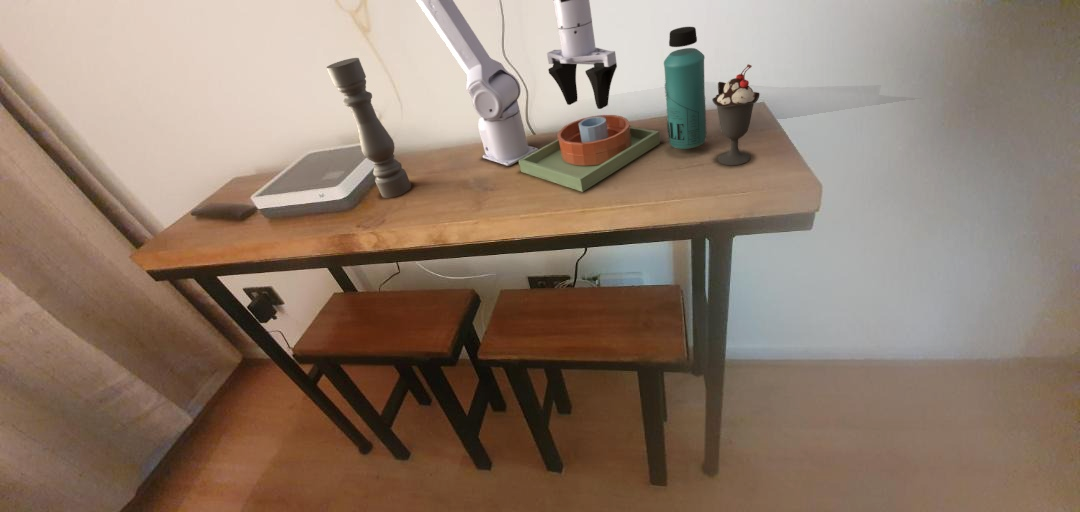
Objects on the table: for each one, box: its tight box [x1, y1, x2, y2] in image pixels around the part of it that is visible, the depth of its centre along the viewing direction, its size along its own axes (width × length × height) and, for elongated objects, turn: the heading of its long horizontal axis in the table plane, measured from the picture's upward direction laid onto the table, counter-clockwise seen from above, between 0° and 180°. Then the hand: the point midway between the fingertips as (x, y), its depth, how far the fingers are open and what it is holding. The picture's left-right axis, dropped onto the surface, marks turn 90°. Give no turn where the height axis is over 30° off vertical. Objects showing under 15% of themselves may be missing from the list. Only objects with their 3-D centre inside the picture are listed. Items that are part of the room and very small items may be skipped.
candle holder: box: [326, 57, 412, 199], centre depth 90 cm, size 6×6×25 cm
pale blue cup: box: [579, 116, 609, 143], centre depth 89 cm, size 5×5×6 cm
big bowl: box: [557, 114, 632, 166], centre depth 90 cm, size 13×13×5 cm
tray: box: [518, 126, 661, 193], centre depth 90 cm, size 17×20×2 cm
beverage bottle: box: [663, 26, 708, 150], centre depth 79 cm, size 6×7×20 cm
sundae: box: [711, 64, 761, 166], centre depth 74 cm, size 7×7×15 cm
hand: (587, 104), depth 87 cm, fingers open, 7 cm apart
